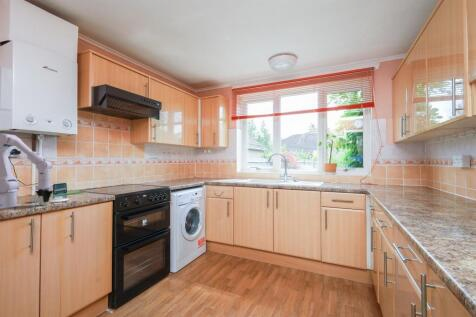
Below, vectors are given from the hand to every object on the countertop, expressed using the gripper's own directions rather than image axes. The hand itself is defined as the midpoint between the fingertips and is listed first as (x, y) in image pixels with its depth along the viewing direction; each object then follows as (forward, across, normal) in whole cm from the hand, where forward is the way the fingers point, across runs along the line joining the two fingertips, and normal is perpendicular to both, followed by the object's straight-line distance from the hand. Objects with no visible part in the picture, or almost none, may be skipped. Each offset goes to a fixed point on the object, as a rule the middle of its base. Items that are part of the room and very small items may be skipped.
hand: (44, 201), depth 139 cm
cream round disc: (+2, +6, -10) cm, 12 cm away
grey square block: (+2, +16, -4) cm, 17 cm away
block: (+2, 0, 0) cm, 2 cm away
